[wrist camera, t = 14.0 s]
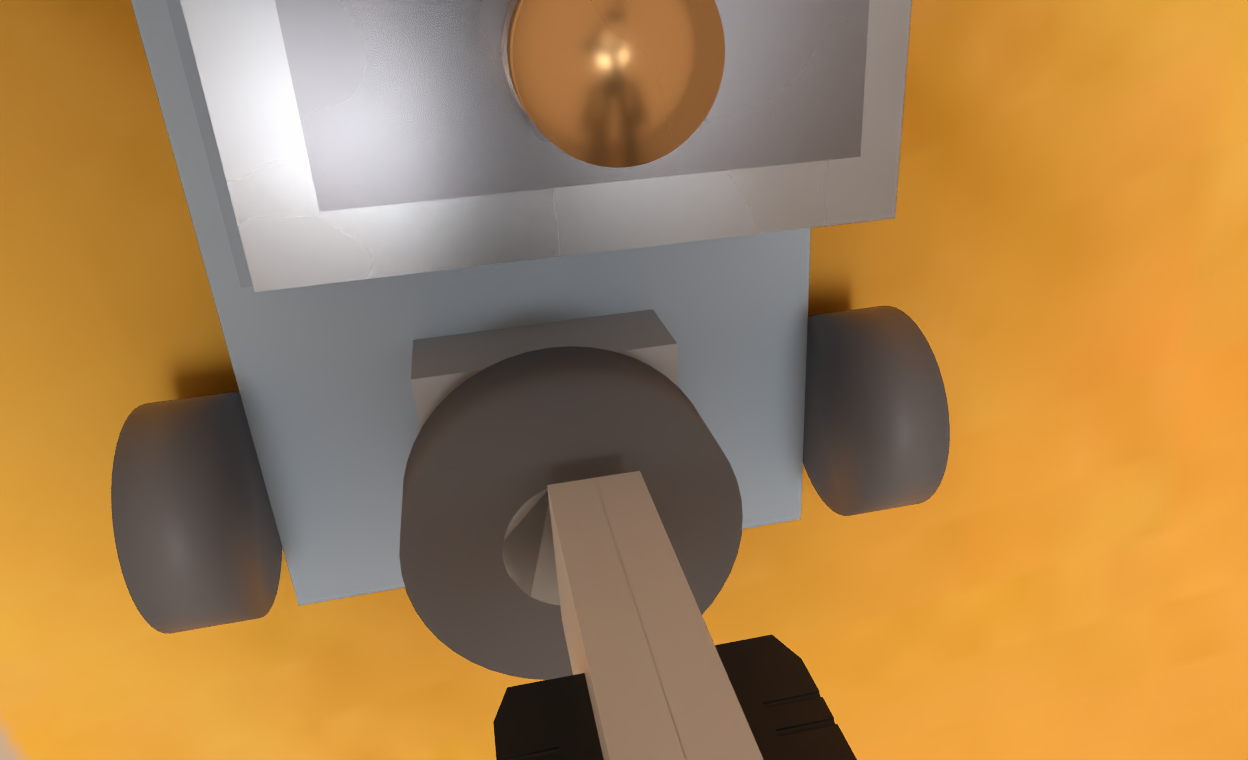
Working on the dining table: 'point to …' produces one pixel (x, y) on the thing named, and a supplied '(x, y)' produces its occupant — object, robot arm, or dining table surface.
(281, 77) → the twin lamp box
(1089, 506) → the dining table surface
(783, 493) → the chassis
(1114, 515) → the dining table surface
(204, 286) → the dining table surface
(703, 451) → the spare wheel
